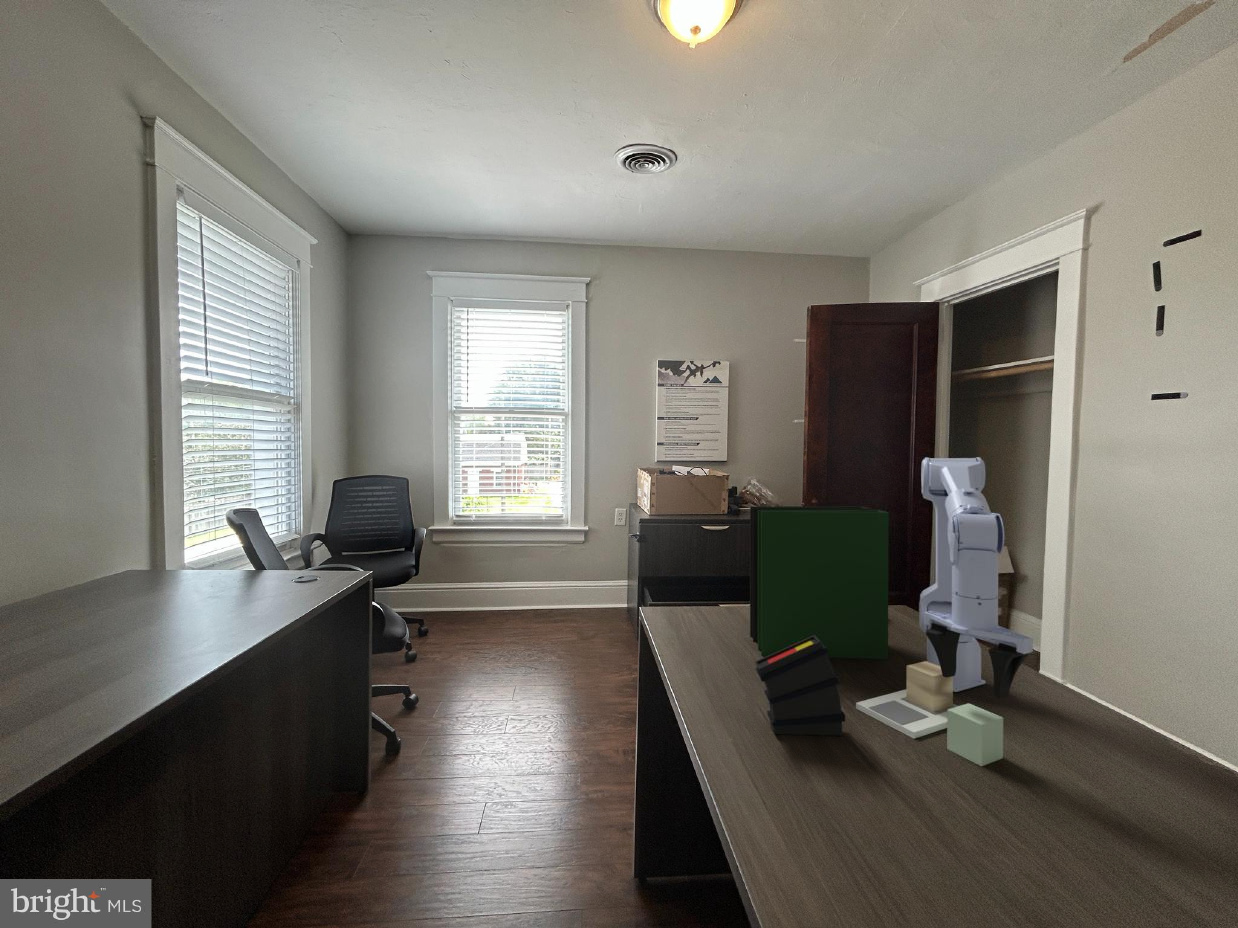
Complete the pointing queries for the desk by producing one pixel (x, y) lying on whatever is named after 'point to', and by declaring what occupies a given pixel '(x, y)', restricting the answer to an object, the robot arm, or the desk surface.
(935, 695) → the wooden toy cube
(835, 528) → the binder
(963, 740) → the sage post
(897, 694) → the board
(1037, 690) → the desk surface
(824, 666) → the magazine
